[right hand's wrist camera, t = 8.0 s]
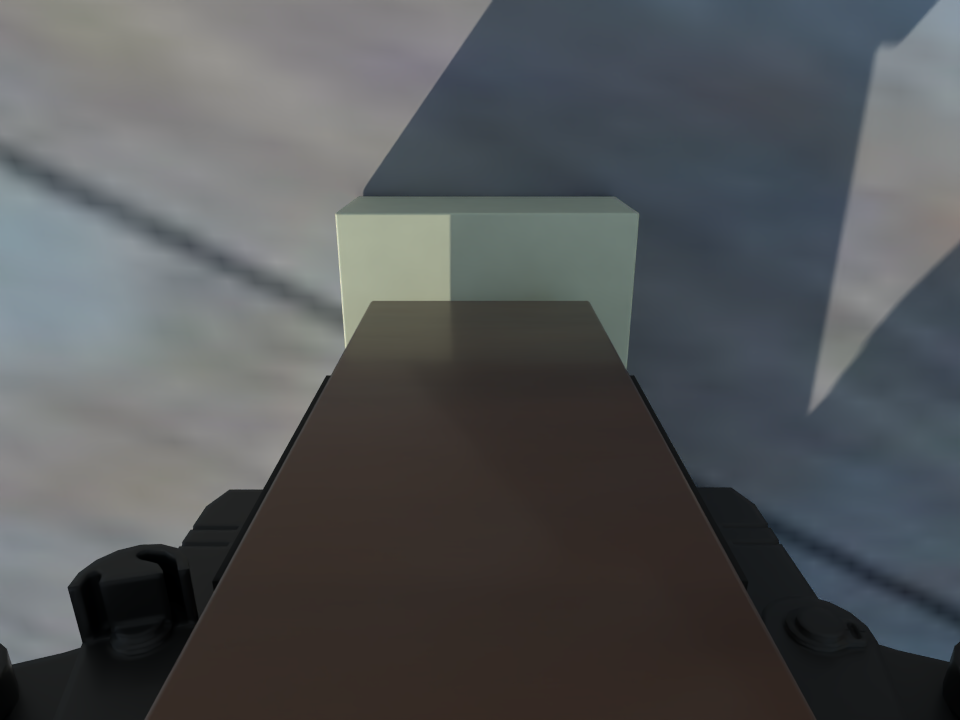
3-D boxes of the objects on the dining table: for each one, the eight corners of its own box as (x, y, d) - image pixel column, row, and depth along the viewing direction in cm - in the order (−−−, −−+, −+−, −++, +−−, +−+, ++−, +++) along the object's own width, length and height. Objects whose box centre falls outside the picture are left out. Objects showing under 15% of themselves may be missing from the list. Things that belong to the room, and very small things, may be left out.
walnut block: (370, 299, 15) (76, 833, 4) (590, 299, 15) (883, 833, 4) (381, 489, 17) (197, 1218, 6) (578, 489, 17) (763, 1219, 6)
